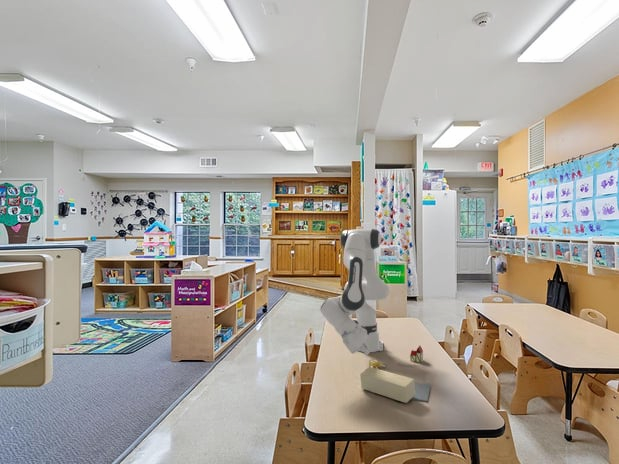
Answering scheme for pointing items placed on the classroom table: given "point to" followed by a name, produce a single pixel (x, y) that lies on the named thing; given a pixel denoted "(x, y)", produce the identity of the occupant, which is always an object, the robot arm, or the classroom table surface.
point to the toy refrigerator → (388, 384)
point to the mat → (421, 392)
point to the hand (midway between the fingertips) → (368, 353)
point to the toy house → (417, 355)
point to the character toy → (374, 363)
